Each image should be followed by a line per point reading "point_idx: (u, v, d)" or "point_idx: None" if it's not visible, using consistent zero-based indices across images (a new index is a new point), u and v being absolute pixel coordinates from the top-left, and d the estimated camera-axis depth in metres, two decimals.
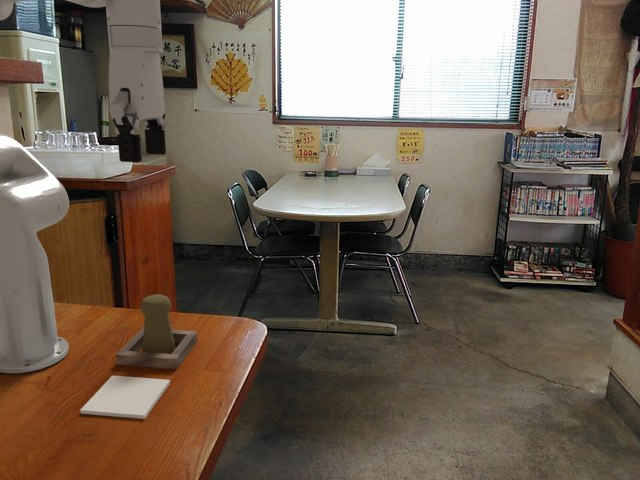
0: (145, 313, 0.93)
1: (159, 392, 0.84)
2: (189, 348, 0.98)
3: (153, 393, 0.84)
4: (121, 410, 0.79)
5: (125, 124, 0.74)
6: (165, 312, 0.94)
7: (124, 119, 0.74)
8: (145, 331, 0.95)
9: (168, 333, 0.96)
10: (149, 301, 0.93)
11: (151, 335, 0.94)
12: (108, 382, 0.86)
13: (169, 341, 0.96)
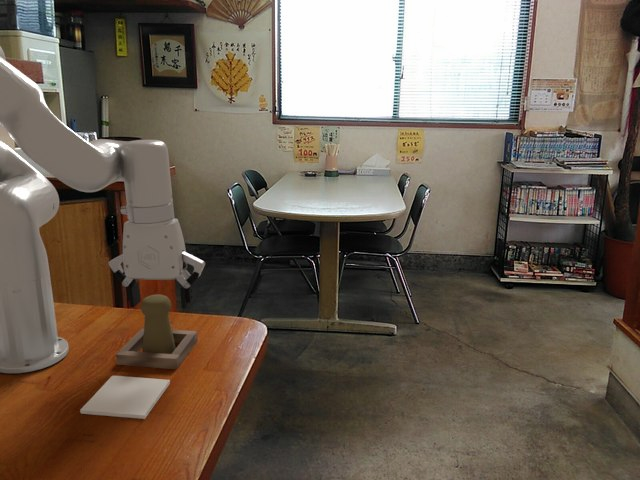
0: (145, 313, 0.93)
1: (159, 392, 0.84)
2: (189, 348, 0.98)
3: (153, 393, 0.84)
4: (121, 410, 0.79)
5: (199, 275, 0.94)
6: (165, 312, 0.94)
7: None
8: (145, 331, 0.95)
9: (168, 333, 0.96)
10: (149, 301, 0.93)
11: (151, 335, 0.94)
12: (108, 382, 0.86)
13: (169, 341, 0.96)
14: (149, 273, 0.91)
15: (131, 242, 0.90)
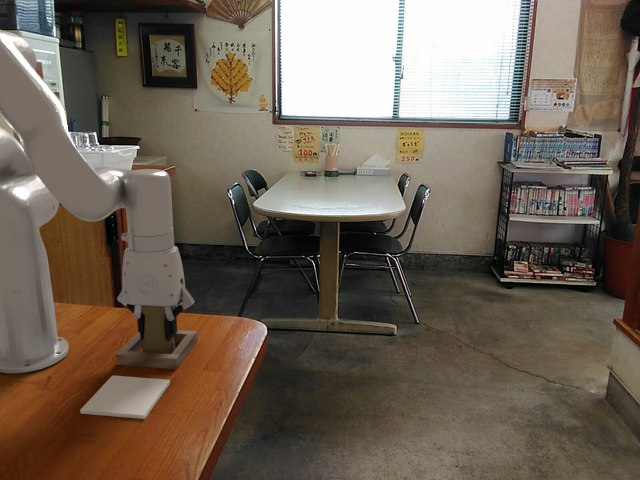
0: (145, 313, 0.93)
1: (159, 392, 0.84)
2: (189, 348, 0.98)
3: (153, 393, 0.84)
4: (121, 410, 0.79)
5: None
6: (165, 312, 0.94)
7: None
8: (145, 331, 0.95)
9: None
10: None
11: (151, 335, 0.94)
12: (108, 382, 0.86)
13: (169, 341, 0.96)
14: (147, 300, 0.92)
15: (131, 269, 0.91)
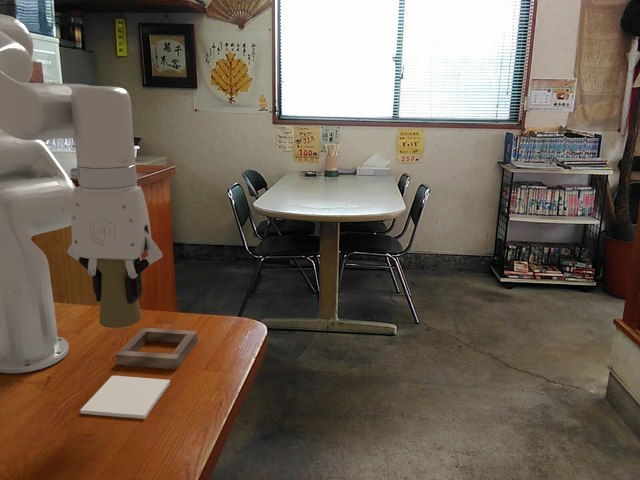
0: (101, 269, 0.75)
1: (159, 392, 0.84)
2: (189, 348, 0.98)
3: (153, 393, 0.84)
4: (121, 410, 0.79)
5: None
6: (126, 268, 0.76)
7: None
8: (102, 292, 0.77)
9: None
10: None
11: (108, 297, 0.76)
12: (108, 382, 0.86)
13: (132, 305, 0.78)
14: (103, 251, 0.74)
15: (81, 212, 0.73)
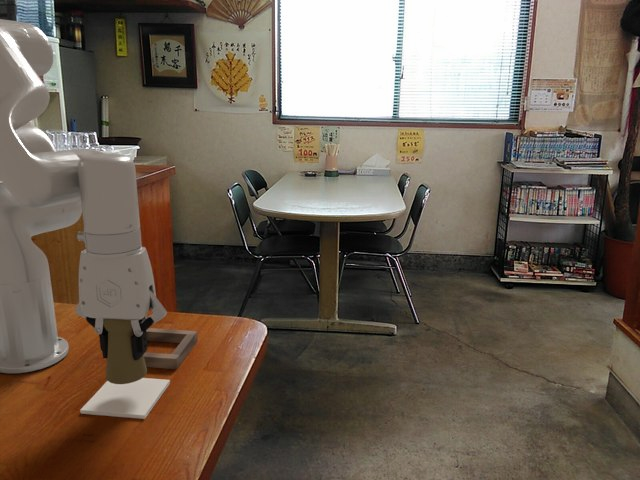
0: (107, 328, 0.78)
1: (159, 392, 0.84)
2: (189, 348, 0.98)
3: (153, 393, 0.84)
4: (121, 410, 0.79)
5: None
6: None
7: None
8: (108, 349, 0.79)
9: None
10: None
11: (115, 355, 0.79)
12: (108, 382, 0.86)
13: (137, 361, 0.80)
14: (109, 312, 0.76)
15: (88, 275, 0.75)
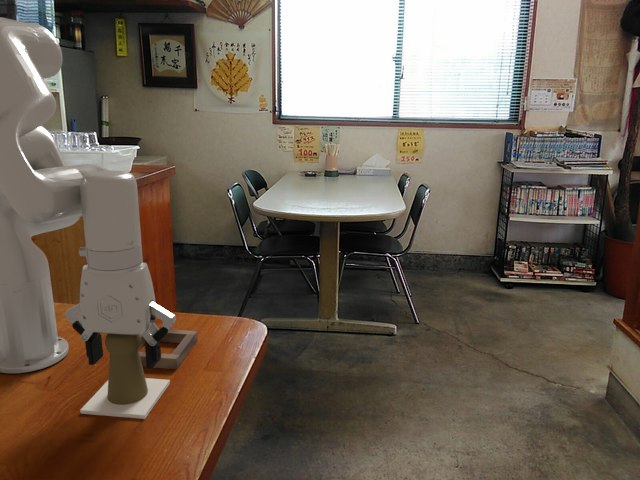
0: (109, 350, 0.79)
1: (159, 392, 0.84)
2: (189, 348, 0.98)
3: (153, 393, 0.84)
4: (121, 410, 0.79)
5: None
6: (133, 349, 0.80)
7: None
8: (110, 370, 0.80)
9: (137, 373, 0.81)
10: (114, 336, 0.79)
11: (116, 376, 0.80)
12: None
13: (138, 382, 0.81)
14: (110, 327, 0.77)
15: (90, 291, 0.76)
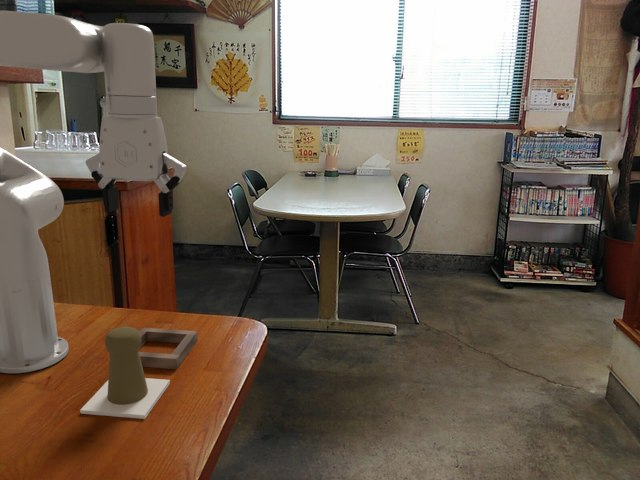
0: (109, 350, 0.79)
1: (159, 392, 0.84)
2: (189, 348, 0.98)
3: (153, 393, 0.84)
4: (121, 410, 0.79)
5: (180, 181, 0.86)
6: (133, 348, 0.80)
7: (181, 177, 0.86)
8: (110, 370, 0.80)
9: (137, 373, 0.81)
10: (114, 336, 0.79)
11: (116, 376, 0.80)
12: None
13: (138, 382, 0.81)
14: (126, 172, 0.84)
15: (108, 137, 0.83)
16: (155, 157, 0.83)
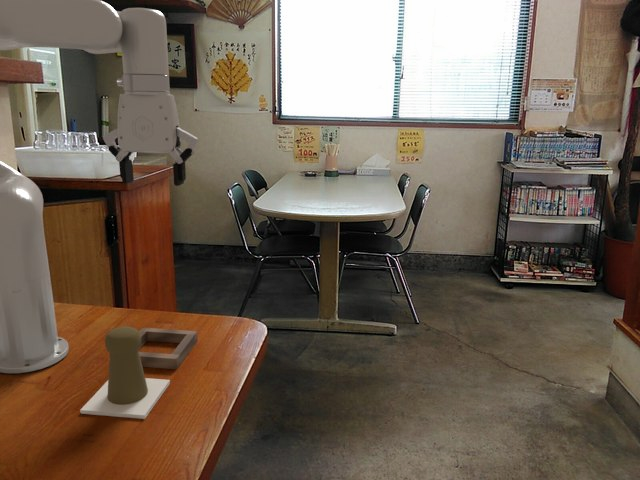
0: (109, 350, 0.79)
1: (159, 392, 0.84)
2: (189, 348, 0.98)
3: (153, 393, 0.84)
4: (121, 410, 0.79)
5: (192, 153, 0.95)
6: (133, 348, 0.80)
7: None
8: (110, 370, 0.80)
9: (137, 373, 0.81)
10: (114, 336, 0.79)
11: (116, 376, 0.80)
12: None
13: (138, 382, 0.81)
14: (143, 145, 0.92)
15: (126, 112, 0.91)
16: (170, 130, 0.91)
